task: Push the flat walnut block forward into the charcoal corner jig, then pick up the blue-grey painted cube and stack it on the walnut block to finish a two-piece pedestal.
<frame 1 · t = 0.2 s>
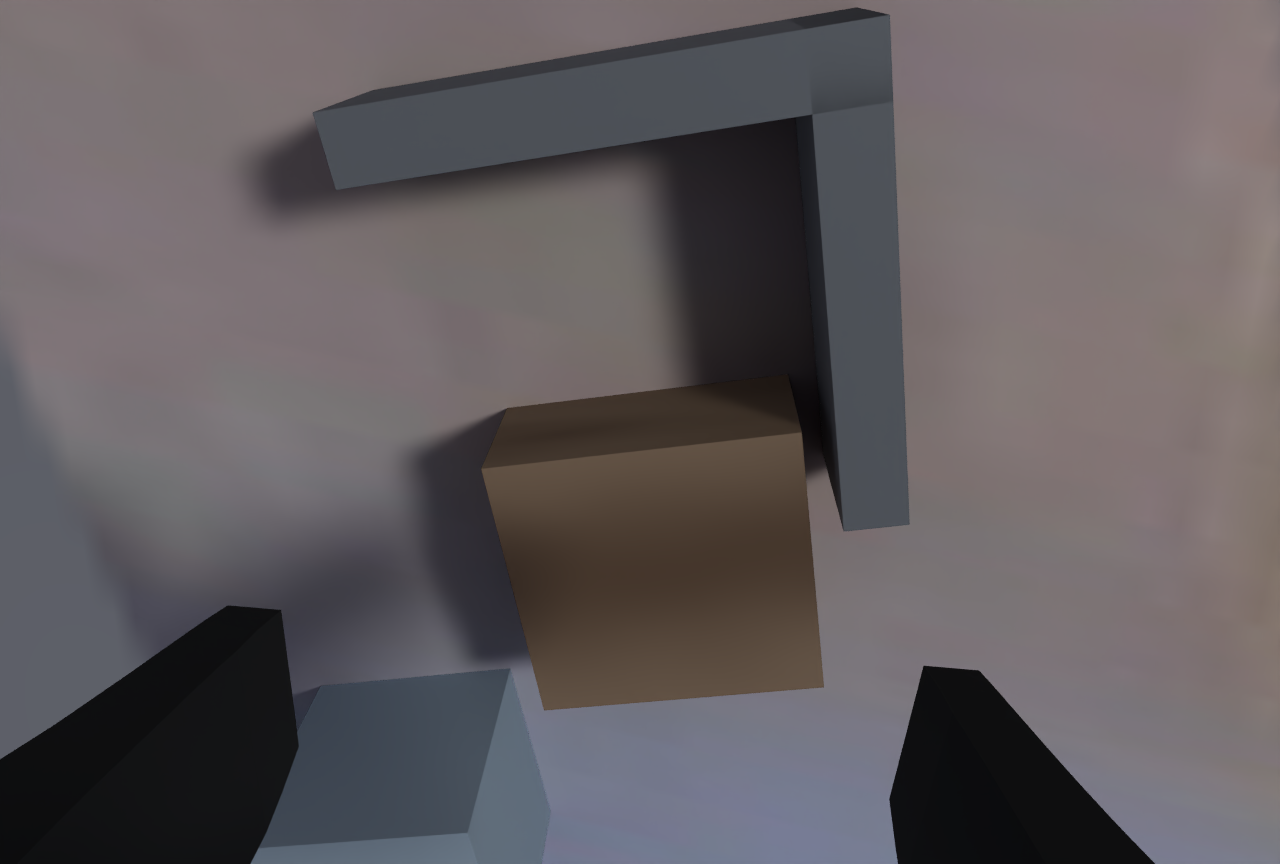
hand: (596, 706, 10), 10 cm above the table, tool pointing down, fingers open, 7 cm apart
walnut block: (665, 505, 21), on the table
corner jig: (628, 302, 19), on the table
blue-grey cube: (440, 748, 24), on the table
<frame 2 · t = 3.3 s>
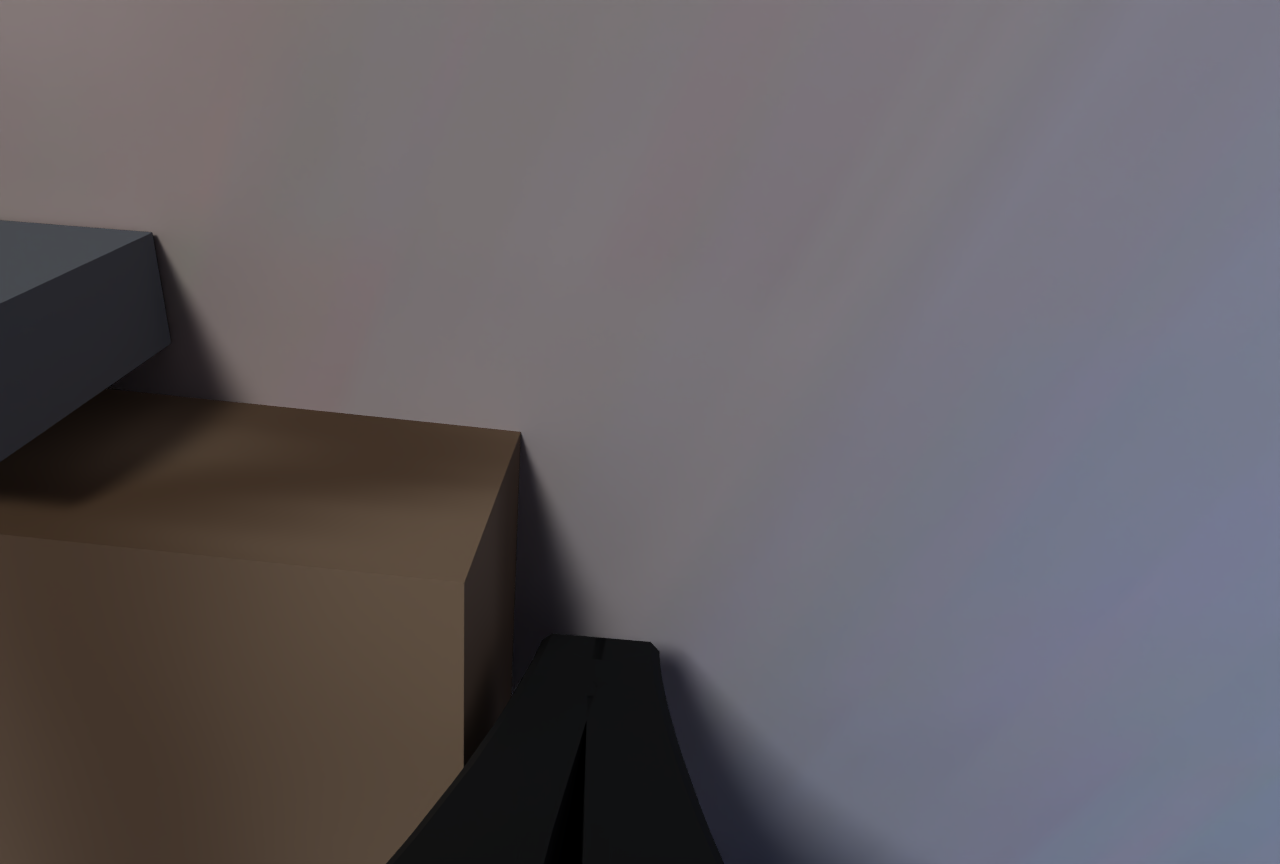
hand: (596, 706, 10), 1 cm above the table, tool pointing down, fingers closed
walnut block: (281, 611, 12), on the table, touching gripper
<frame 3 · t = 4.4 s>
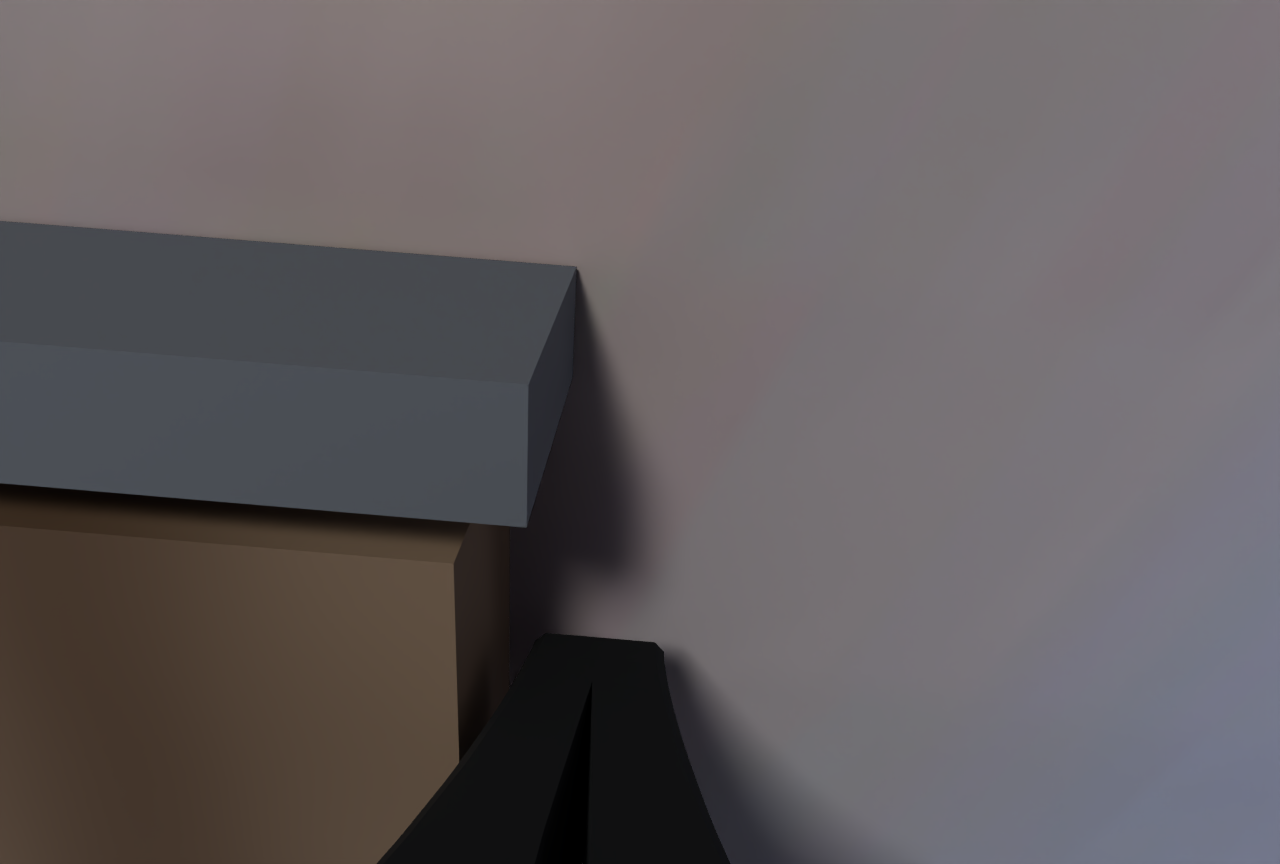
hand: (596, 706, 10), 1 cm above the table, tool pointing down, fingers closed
walnut block: (280, 606, 12), on the table
corner jig: (242, 617, 11), on the table
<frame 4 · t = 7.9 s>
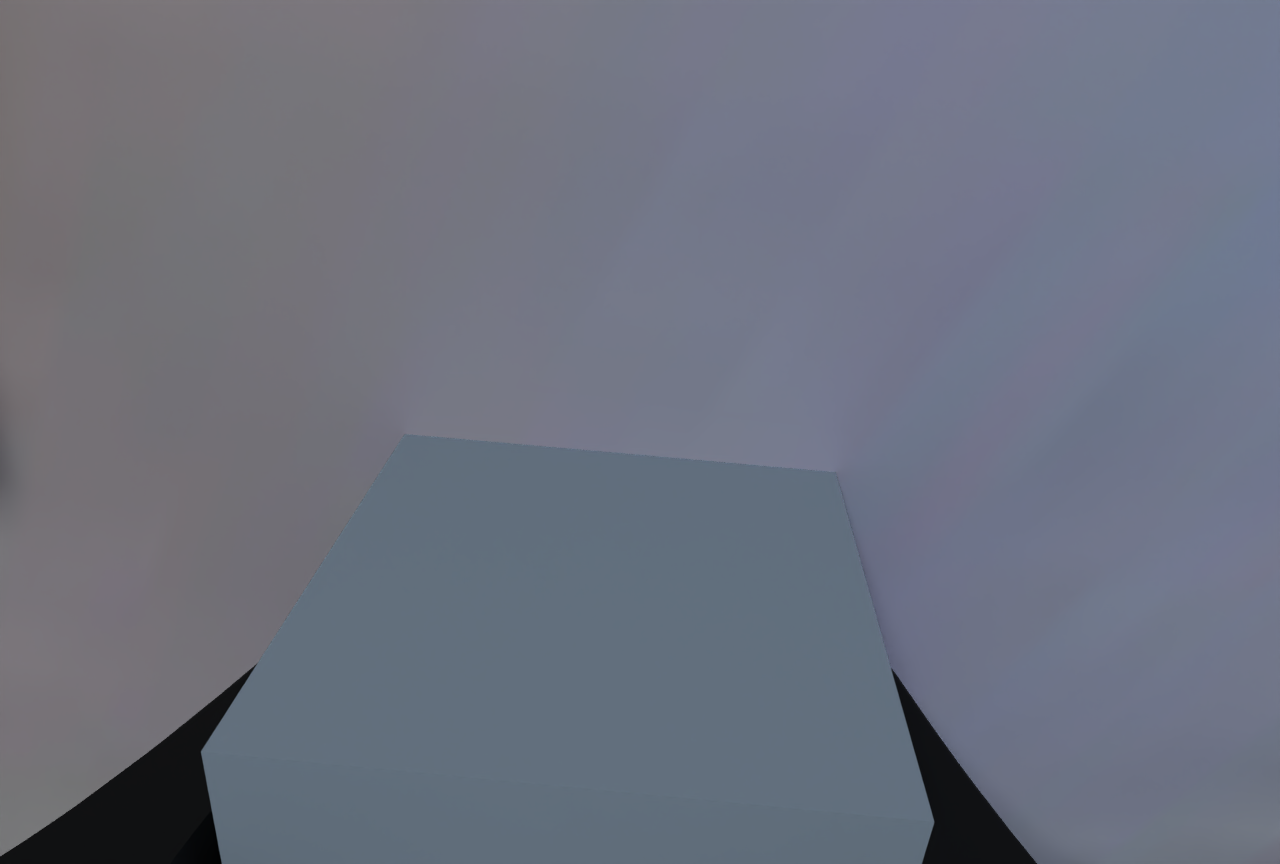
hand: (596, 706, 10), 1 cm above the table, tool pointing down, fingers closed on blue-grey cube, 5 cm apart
blue-grey cube: (607, 622, 12), on the table, touching gripper
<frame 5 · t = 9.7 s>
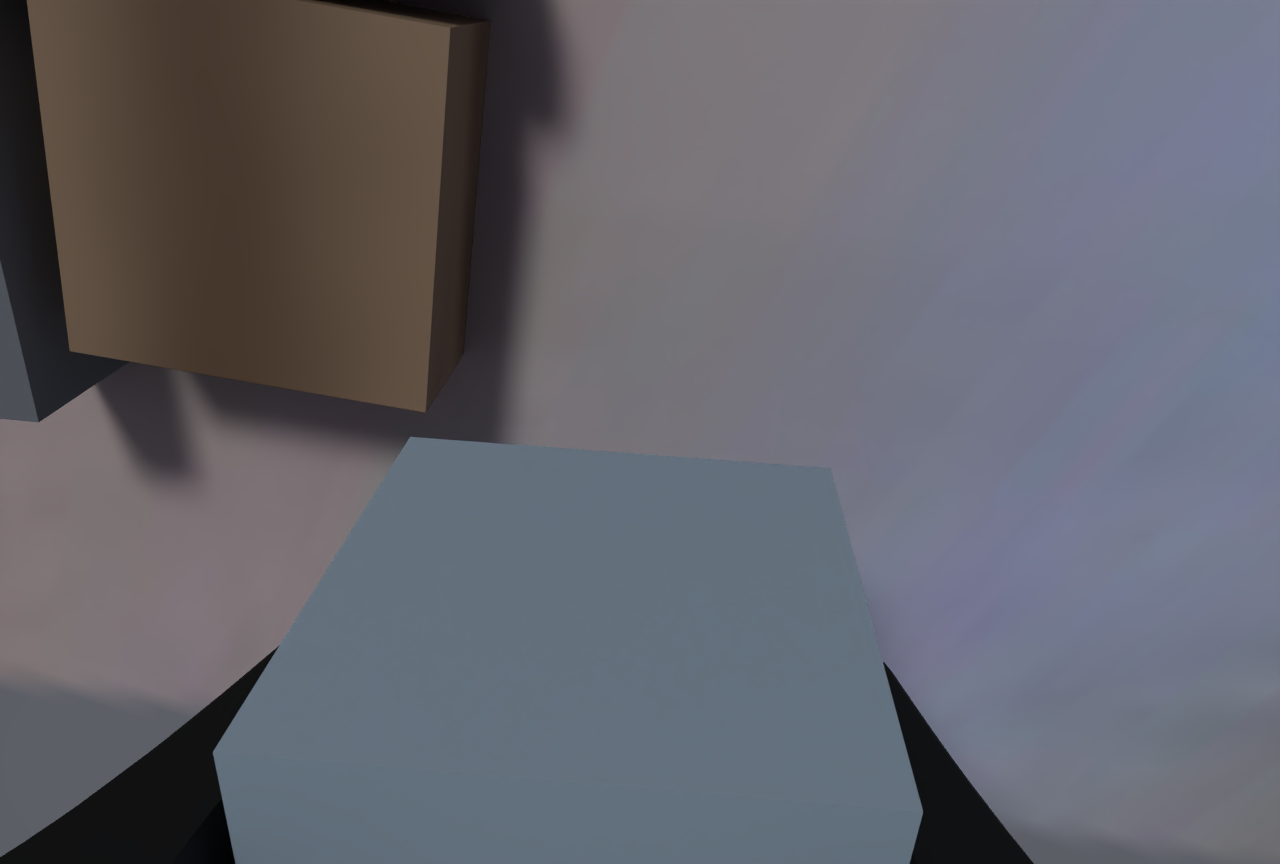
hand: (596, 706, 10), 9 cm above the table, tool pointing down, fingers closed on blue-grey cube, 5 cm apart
walnut block: (316, 168, 17), on the table
corner jig: (291, 167, 16), on the table
blue-grey cube: (610, 621, 12), point 7 cm above the table, touching gripper
when the fingers open (5 cm above the table, at t = 11.2 s): blue-grey cube stays where it is, resting on walnut block.
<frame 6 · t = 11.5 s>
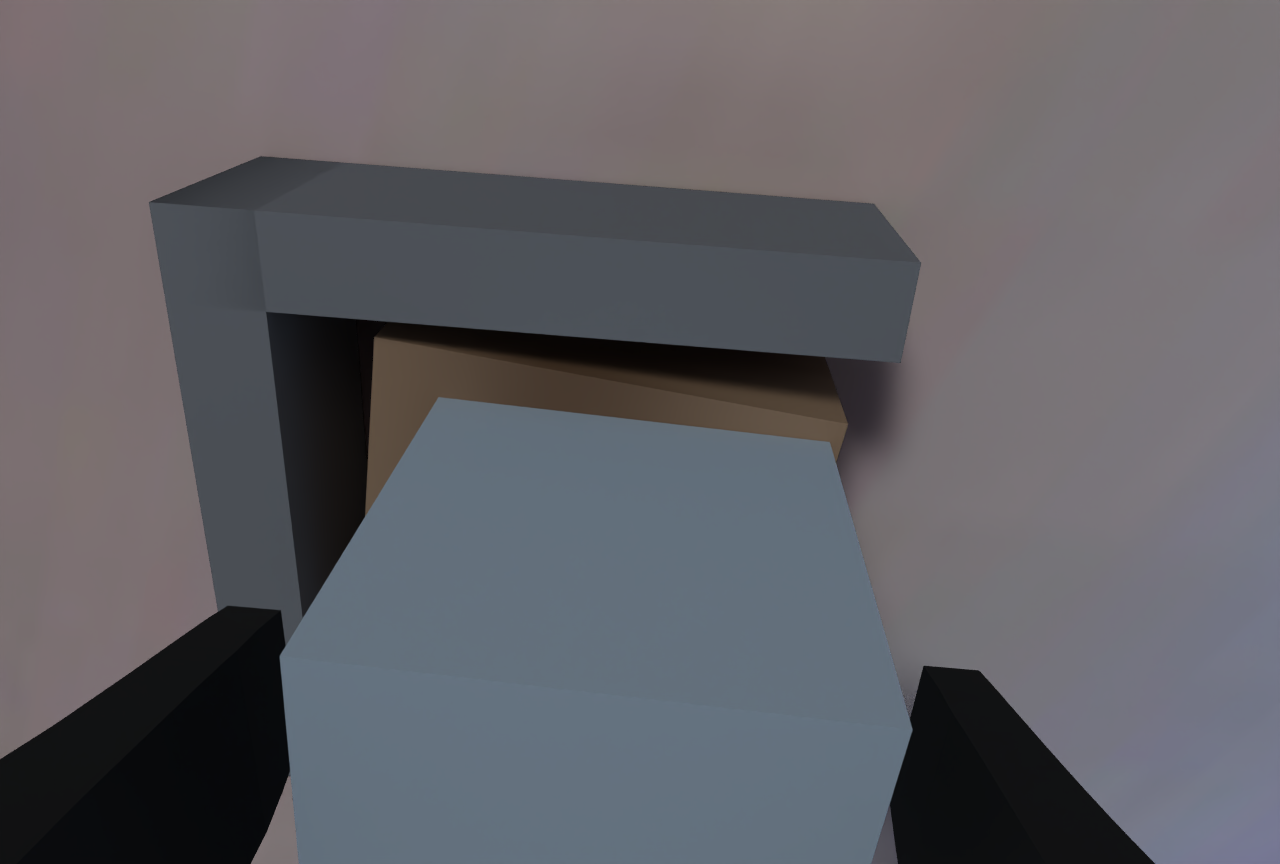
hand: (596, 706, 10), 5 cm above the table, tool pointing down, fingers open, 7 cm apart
walnut block: (598, 472, 16), on the table, touching blue-grey cube
corner jig: (577, 478, 15), on the table
blue-grey cube: (616, 580, 13), point 3 cm above the table, touching walnut block
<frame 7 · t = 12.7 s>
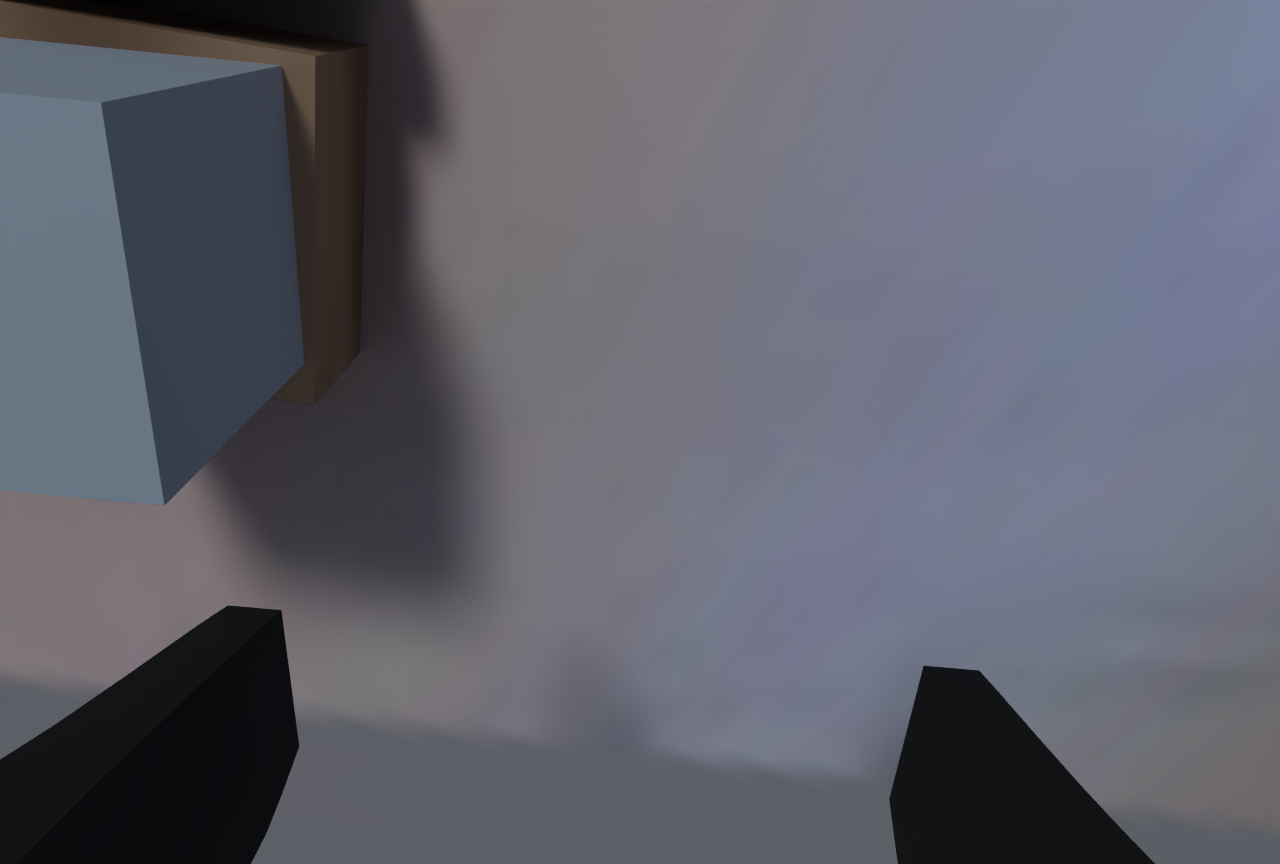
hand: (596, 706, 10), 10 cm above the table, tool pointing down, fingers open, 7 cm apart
walnut block: (216, 180, 18), on the table, touching blue-grey cube
blue-grey cube: (144, 210, 15), point 3 cm above the table, touching walnut block
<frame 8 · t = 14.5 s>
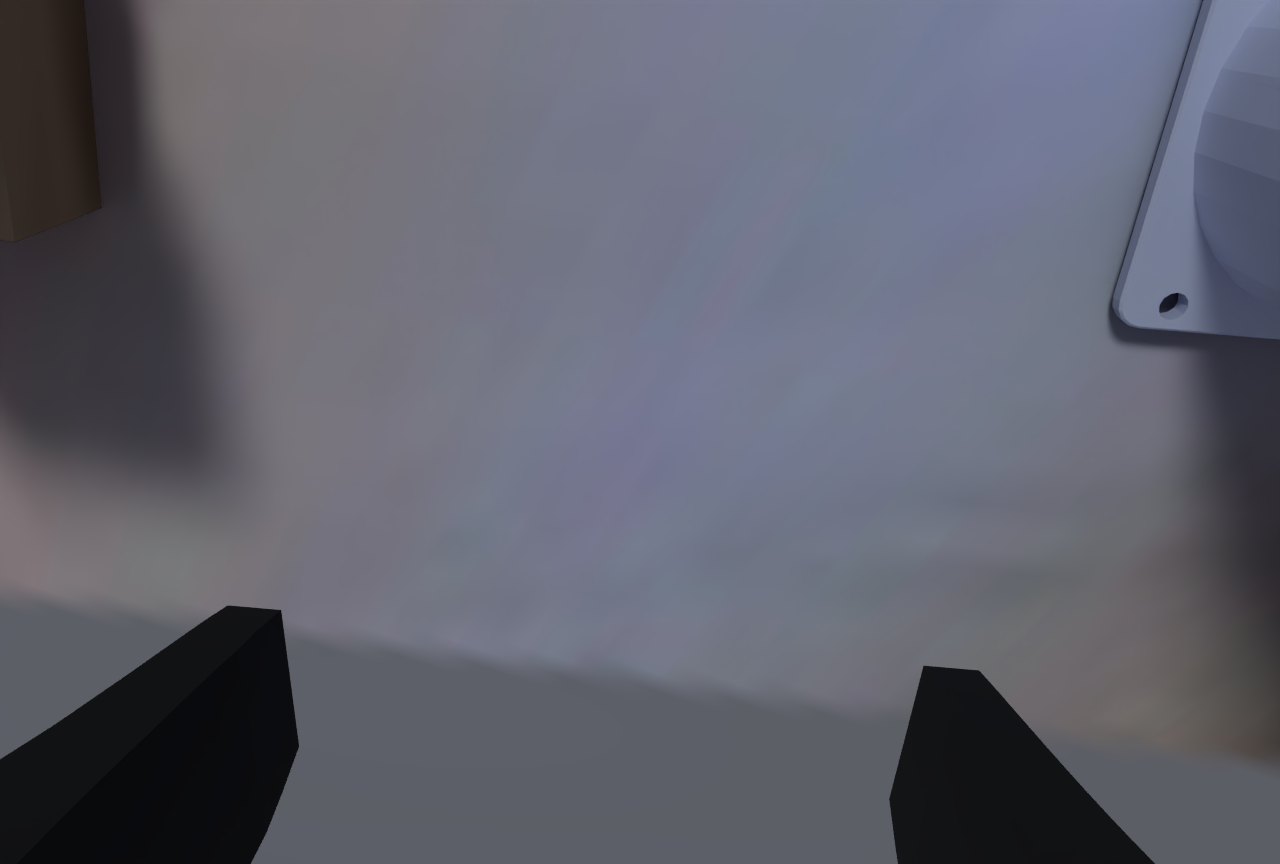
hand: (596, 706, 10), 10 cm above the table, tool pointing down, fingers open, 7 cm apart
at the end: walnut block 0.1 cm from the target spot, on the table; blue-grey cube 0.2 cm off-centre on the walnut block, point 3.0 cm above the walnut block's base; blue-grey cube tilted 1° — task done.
